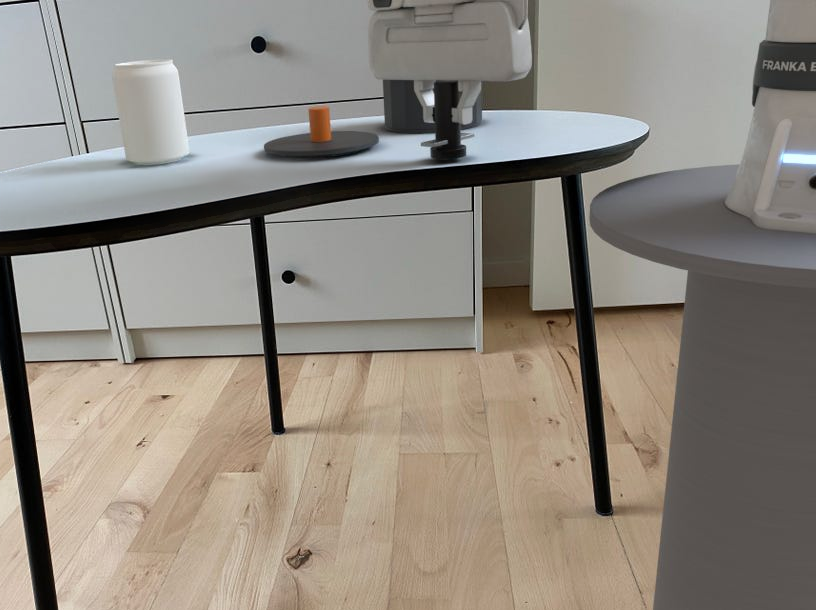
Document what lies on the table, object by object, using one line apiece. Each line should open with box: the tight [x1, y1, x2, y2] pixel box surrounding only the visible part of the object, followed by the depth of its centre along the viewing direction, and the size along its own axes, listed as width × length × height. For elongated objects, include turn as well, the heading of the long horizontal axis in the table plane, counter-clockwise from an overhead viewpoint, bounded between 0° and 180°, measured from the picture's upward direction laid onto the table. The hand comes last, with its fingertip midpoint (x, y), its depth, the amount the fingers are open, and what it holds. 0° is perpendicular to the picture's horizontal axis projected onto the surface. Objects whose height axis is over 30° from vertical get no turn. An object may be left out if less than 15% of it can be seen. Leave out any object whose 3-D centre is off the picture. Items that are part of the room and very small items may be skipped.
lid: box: [263, 105, 380, 159], centre depth 105 cm, size 15×15×5 cm
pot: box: [382, 80, 483, 134], centre depth 116 cm, size 14×19×10 cm
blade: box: [420, 80, 475, 160], centre depth 92 cm, size 7×4×8 cm, turn 132°
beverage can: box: [111, 58, 190, 166], centre depth 105 cm, size 8×8×12 cm
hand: (447, 123), depth 92 cm, fingers closed on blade, 3 cm apart
